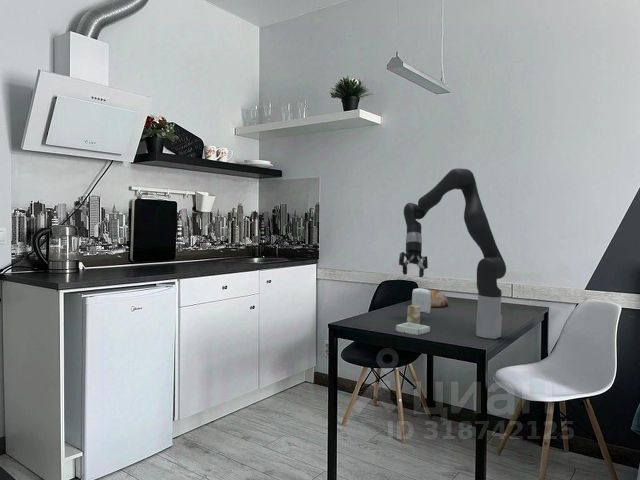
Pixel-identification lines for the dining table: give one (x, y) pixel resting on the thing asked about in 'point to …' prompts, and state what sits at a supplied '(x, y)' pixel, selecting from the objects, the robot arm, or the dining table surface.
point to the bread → (438, 299)
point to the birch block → (413, 314)
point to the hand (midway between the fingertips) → (413, 275)
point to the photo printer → (422, 299)
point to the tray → (413, 328)
